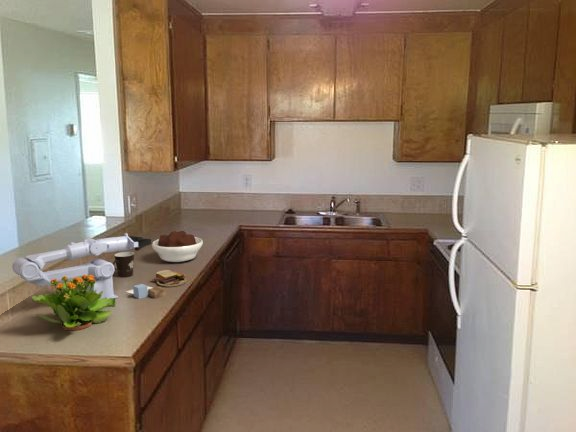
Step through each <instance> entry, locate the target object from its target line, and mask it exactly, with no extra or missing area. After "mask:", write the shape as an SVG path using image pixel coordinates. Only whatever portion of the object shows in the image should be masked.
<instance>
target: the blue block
mask: <svg viewBox="0 0 576 432" xmlns="http://www.w3.org/2000/svg"><path fill="white" fill-rule="evenodd" d="M147 286H148V285H146V284H143V283H140V284H136V285H133V286H132V288H133V292H134V294H133V297H134V298H137V299H139V300H140V299H143V298H147V297H149V296H148V290H147Z"/></svg>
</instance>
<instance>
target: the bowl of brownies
mask: <svg viewBox="0 0 576 432" xmlns="http://www.w3.org/2000/svg"><path fill="white" fill-rule="evenodd" d="M203 244H204V241H203V239H202V238H200V237H197V236H195V235H193V234H191V233H190V234H189V233H187V232H186V231H185V230H179V231H175V230H173V231H171V232H169V234H162V235H160V236H159V238H158V239H156V240H154V241H152V242H151V247H152V249H153V250H154V251H155V252H156V253H157V254H158V256H159V259H161V261H162V260H163V261H164V262H170V263H171V262H172V263H181V262H186V261H190V260H193V259H195V258H196V257H197V255H198V252H199V250H201V248H202V247H203Z"/></svg>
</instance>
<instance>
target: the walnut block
mask: <svg viewBox="0 0 576 432" xmlns="http://www.w3.org/2000/svg"><path fill="white" fill-rule="evenodd" d="M166 296H167V293H166V288H165V287H164V288H163V286H160V285H159V286H155V287H152V288H151V289H148V297H149V298H152V299H154V300H155V299H158V298H162V297H166Z"/></svg>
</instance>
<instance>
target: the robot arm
mask: <svg viewBox="0 0 576 432" xmlns="http://www.w3.org/2000/svg"><path fill="white" fill-rule="evenodd" d="M150 245H152V238H151V239H150V238H143V237H142V236H132V235H129V234H128V233H127V232H124V233H123V235H122V236H116V237H115V236H113V237H103V238H97V239H95V238H86V239H83V241H80V242H74V241H72V242H69V244H67V245H66V246H64V247H63V249H58V250H57V249H56V250H52V251H46V252H40V253H36V254H35V253H34V254H29V255H26V256H25V257H19V258H18V257H17V258H16V259H15V260H14V261H13V263H12V271H13V272H14V273H15V274H16V275H17V274H18V275H20V276H21V277H20V278H21V279H23V280H24V281H25V282H26V283H30V284H33V285H35V286H37V287H41V288H42V287H46V286H52V285H51V280H52V279H55V278H56V279H57V280H56V281H60V282H58V283H63V280H61V279H62V278H63V276H67V278H68V281H66V282H69V281H70V282H71V280H73V278H74V277H78V278H81V276H83V275H88V276H89V275H93V276H94V278H93V279H94V280H95V281H96V283H95V284H94V287H93V286H92V287H93V288H92V290H93V289H94V291H95V290H97V291H96V292H95V293H97V294H98V293H100V292H101V291H103V294H102V296H101V299H102V298H105V297H107V298H108V299H109V298H115V299H117V298H119V296H118V295H116V294H115V293H114V281H113V280H114V279H113V275H114V273H115V271H116V270H115V268H116V267H115V268H114V266H115V264H114V265H113V262H109V261H107V260H104V259H103V258H101V257H97V256H99V255H101V254H104V253H113V252H124V251H125V252H128V251H130V250H131V249H134V251H136V252H138V251H140V250H141V249H143V248H145V247H147V246H150ZM89 255H92V256H95V257H96V258H94V259H92V260H91V261H88V262H86V263H85V264H80V265H75V266H70V267H65V268H64V267H63V268H58V269H54V270H48V271H43V268H44V266H45V265H46V264H48V263H52V262H55V261H59V260H62V259H66V258H67V259H68V260H69V261H73V260H75V259H79V258H83V257H87V256H89ZM18 275H17V276H18ZM67 278H66V279H67ZM81 279H82V278H81ZM52 282H53V281H52ZM87 284H89V283H87ZM92 290H91V292H92ZM89 291H90V286H88V288H87V291H86V292H89Z"/></svg>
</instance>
